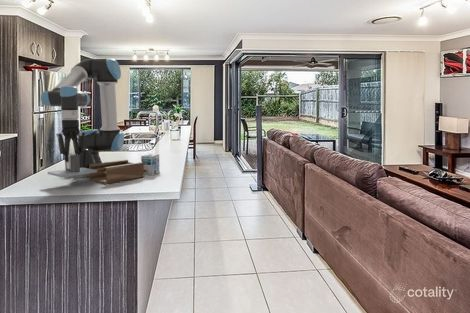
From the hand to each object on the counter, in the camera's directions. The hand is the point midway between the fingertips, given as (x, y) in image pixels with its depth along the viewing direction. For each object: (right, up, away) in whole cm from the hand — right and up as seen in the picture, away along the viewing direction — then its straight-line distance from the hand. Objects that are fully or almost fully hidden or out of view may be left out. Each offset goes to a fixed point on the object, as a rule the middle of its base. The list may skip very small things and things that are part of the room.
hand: (72, 167), depth 188 cm
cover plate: (0, -2, 0) cm, 3 cm away
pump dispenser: (-1, -6, +22) cm, 22 cm away
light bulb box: (+31, -4, +33) cm, 45 cm away
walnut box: (+17, -6, +16) cm, 24 cm away
